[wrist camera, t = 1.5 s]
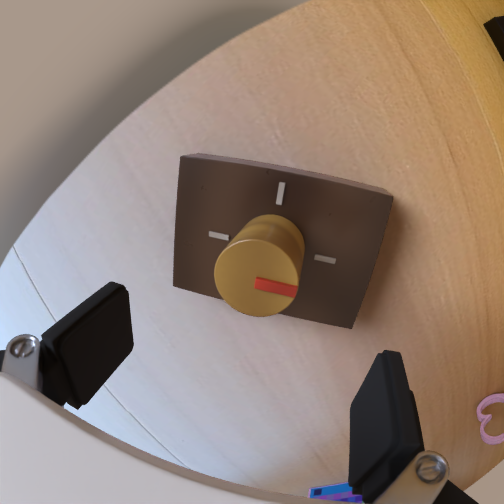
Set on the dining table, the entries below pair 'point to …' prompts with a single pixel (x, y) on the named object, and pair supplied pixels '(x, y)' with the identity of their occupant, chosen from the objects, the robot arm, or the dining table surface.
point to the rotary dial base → (295, 210)
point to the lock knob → (261, 266)
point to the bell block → (496, 33)
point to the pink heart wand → (489, 418)
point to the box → (335, 493)
